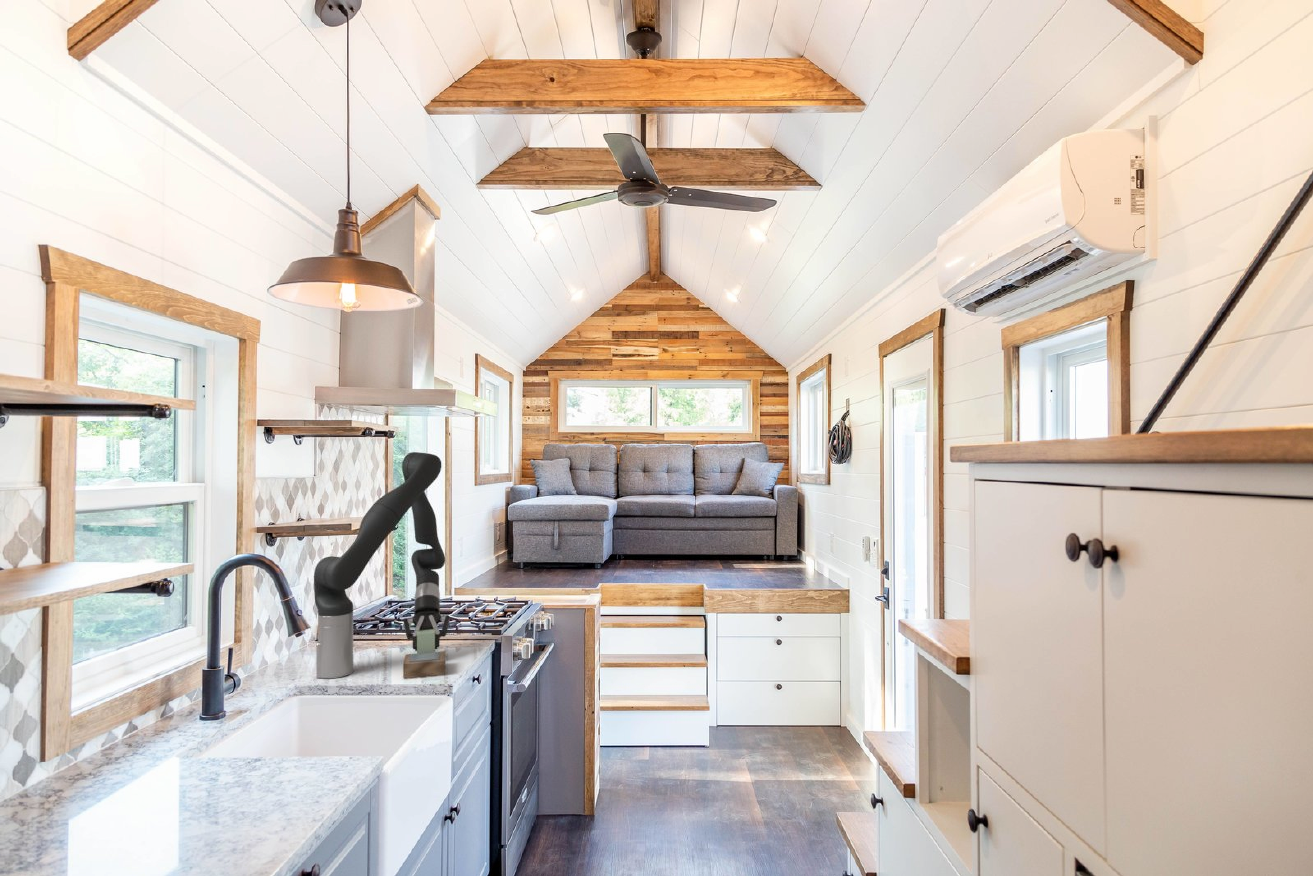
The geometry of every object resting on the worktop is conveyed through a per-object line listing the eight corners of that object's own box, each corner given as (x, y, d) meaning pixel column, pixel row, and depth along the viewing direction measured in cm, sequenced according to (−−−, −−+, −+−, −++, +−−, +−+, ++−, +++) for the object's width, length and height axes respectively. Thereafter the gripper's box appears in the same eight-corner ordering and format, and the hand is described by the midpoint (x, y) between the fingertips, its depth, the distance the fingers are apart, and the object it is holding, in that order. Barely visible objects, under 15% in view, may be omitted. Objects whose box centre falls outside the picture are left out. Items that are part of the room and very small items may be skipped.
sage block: (417, 664, 212) (416, 634, 212) (418, 660, 217) (417, 630, 217) (434, 663, 213) (434, 632, 213) (435, 659, 218) (435, 629, 218)
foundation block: (403, 679, 198) (403, 663, 198) (405, 668, 208) (405, 653, 208) (444, 675, 200) (444, 659, 201) (445, 664, 211) (445, 650, 211)
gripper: (402, 595, 221) (399, 644, 209) (450, 592, 225) (451, 639, 213) (403, 609, 226) (401, 657, 214) (451, 606, 230) (451, 653, 218)
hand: (426, 648), depth 213 cm, fingers closed on sage block, 5 cm apart
